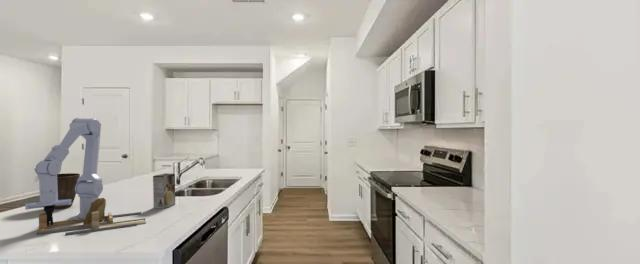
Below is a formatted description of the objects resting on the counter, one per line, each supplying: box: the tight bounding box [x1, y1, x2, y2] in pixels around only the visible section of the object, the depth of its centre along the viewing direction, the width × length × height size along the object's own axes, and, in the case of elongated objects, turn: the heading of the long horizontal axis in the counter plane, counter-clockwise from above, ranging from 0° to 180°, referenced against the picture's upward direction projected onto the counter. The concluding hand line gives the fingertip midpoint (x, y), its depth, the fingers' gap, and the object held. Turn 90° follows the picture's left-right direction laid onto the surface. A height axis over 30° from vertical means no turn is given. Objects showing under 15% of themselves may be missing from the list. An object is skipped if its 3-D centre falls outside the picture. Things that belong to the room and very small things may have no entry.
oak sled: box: [36, 212, 114, 233], centre depth 148 cm, size 12×25×6 cm, turn 123°
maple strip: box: [91, 211, 147, 229], centre depth 148 cm, size 4×19×6 cm, turn 124°
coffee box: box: [152, 172, 176, 209], centre depth 182 cm, size 9×6×16 cm
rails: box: [36, 211, 146, 236], centre depth 148 cm, size 20×37×1 cm, turn 123°
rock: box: [82, 197, 107, 225], centre depth 151 cm, size 11×9×10 cm
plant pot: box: [54, 172, 81, 210], centre depth 178 cm, size 15×15×16 cm
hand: (49, 224), depth 143 cm, fingers closed, pressing on oak sled
